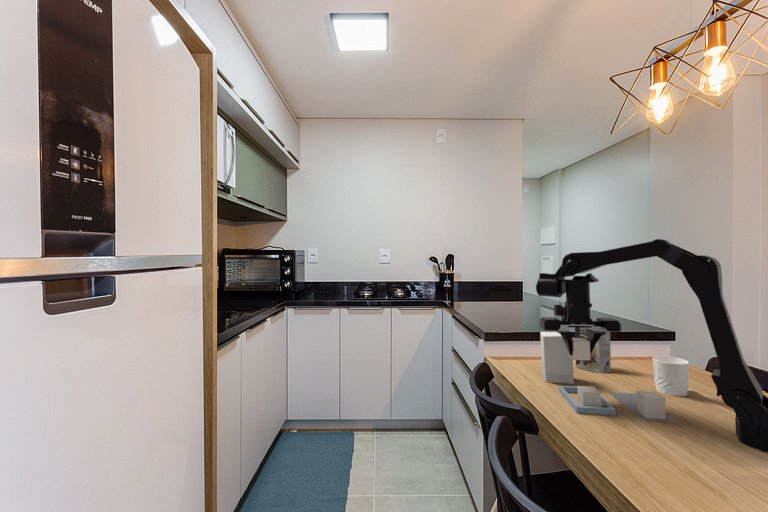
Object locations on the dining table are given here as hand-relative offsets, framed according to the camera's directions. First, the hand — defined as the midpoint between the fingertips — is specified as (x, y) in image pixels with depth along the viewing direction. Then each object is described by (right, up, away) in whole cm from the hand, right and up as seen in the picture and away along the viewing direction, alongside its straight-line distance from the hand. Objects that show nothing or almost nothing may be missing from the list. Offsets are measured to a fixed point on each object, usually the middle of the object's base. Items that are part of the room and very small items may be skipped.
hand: (579, 355), depth 94 cm
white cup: (+27, -12, +3) cm, 30 cm away
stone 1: (0, -1, 0) cm, 1 cm away
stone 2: (-1, -12, -6) cm, 13 cm away
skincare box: (+1, -13, +14) cm, 19 cm away
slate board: (+12, -12, -6) cm, 18 cm away
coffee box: (+20, -13, +27) cm, 35 cm away
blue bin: (0, -12, -3) cm, 13 cm away
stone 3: (+11, -11, -11) cm, 19 cm away
